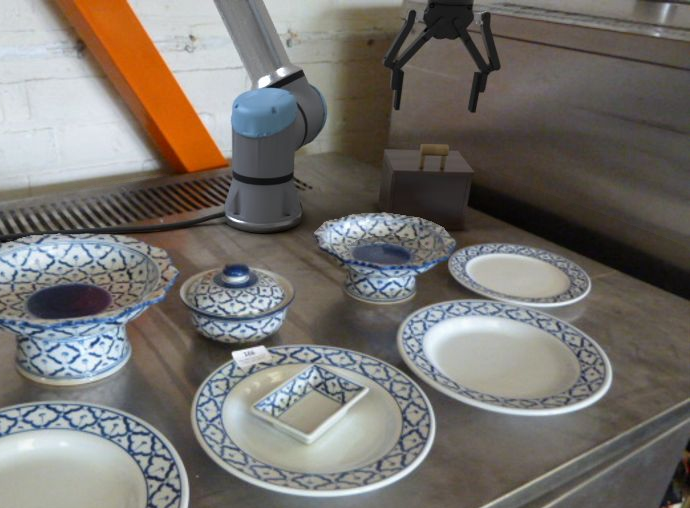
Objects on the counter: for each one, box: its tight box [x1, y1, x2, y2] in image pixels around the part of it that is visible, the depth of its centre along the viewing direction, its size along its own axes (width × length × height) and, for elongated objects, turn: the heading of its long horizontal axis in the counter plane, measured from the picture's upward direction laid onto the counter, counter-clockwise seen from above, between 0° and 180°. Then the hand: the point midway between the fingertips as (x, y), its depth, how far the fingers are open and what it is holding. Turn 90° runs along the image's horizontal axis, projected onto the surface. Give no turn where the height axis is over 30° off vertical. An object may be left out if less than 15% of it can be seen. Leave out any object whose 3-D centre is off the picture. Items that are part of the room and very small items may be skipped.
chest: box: [377, 153, 473, 231], centre depth 128 cm, size 13×15×11 cm
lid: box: [383, 143, 476, 177], centre depth 124 cm, size 14×15×5 cm
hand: (433, 110), depth 119 cm, fingers open, 13 cm apart
